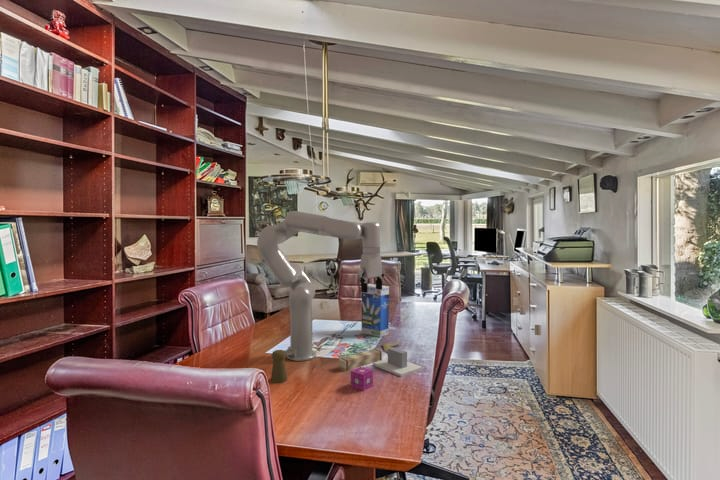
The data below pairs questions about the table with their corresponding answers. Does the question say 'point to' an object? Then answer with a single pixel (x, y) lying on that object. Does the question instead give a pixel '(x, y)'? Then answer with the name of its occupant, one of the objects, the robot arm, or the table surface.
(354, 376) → the puzzle toy
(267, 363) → the table surface
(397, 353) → the ridge block
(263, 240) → the robot arm
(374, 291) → the string lights box
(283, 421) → the table surface
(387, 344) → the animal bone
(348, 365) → the beech bar
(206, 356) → the table surface
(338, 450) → the table surface
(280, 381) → the cork
